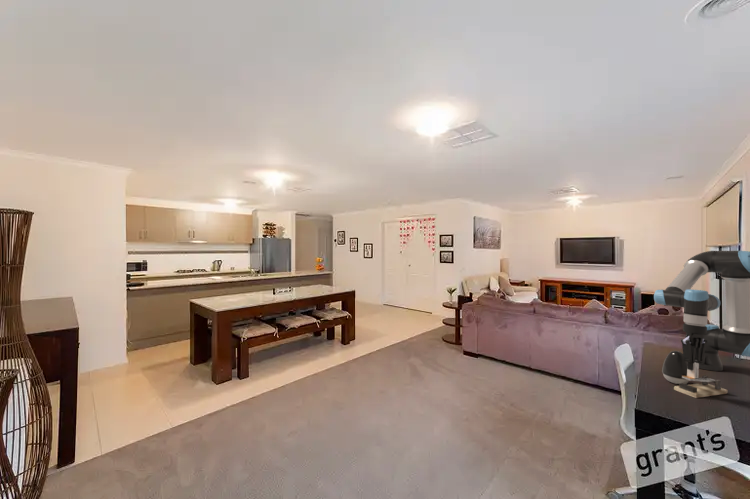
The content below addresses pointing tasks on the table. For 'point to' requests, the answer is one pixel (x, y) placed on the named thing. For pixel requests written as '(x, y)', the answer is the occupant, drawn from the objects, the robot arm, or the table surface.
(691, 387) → the mount
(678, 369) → the dark grey egg shape
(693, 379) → the grey flat bar
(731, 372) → the table surface
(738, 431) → the table surface
